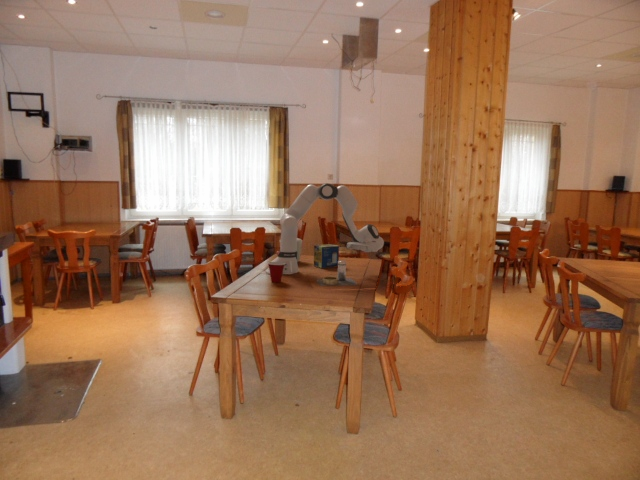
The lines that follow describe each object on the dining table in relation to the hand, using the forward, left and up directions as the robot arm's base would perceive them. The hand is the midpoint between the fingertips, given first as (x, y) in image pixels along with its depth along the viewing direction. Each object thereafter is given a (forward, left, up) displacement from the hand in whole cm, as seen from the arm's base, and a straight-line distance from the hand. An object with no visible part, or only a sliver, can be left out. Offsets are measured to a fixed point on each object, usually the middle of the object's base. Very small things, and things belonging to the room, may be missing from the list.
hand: (354, 247), depth 287 cm
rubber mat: (-14, -12, -20) cm, 27 cm away
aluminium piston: (-10, -8, -19) cm, 23 cm away
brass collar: (-18, -15, -20) cm, 31 cm away
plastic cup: (-50, -4, -20) cm, 54 cm away
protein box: (-11, +42, -20) cm, 48 cm away
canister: (-35, +61, -20) cm, 73 cm away
